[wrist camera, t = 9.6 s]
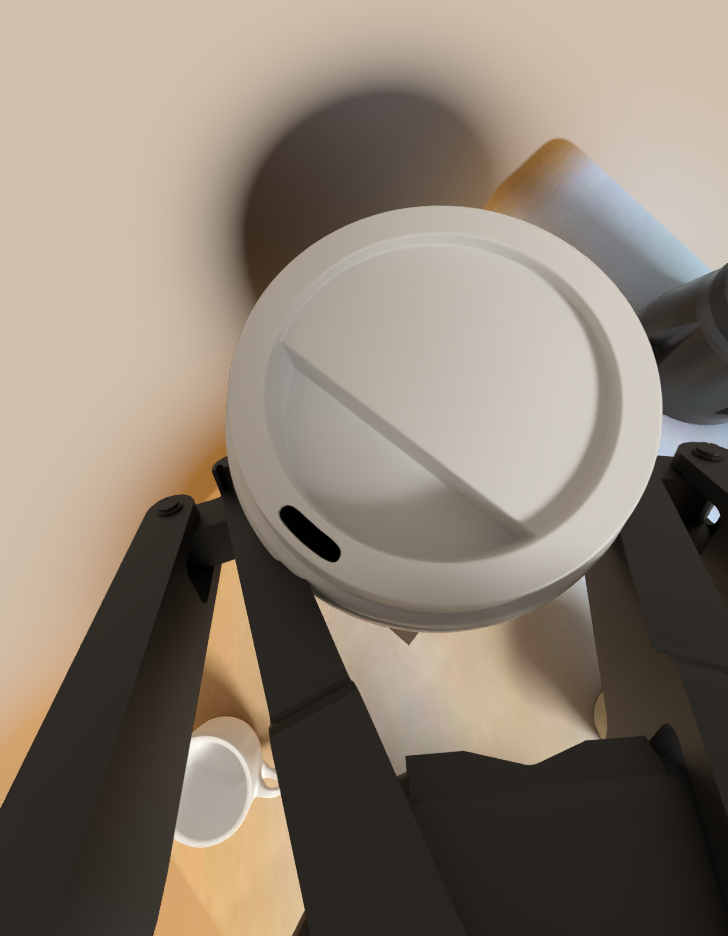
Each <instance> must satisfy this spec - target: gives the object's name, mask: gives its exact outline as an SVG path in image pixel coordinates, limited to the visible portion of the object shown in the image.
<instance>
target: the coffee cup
mask: <svg viewBox="0 0 728 936" xmlns="http://www.w3.org/2000/svg"><path fill="white" fill-rule="evenodd" d="M661 429H662V392H661V384H660V378H659V373H658V368H657V364H656V360H655V357H654V354H653V351H652V348H651V345H650V342H649V340H648V337H647V335H646V333H645V331H644V329H643V326H642V324H641V323H640V321H639V319H638V317H637V315H636V314H635V312H634V310H633V309H632V307H631V305H630V304H629V302H628V301H627V300H626V298H625V297H624V295H623V294H622V293H621V291H620V290H619V289H618V288H617V286H616V285H615V284H614V283H613V282H612V281H611V280H610V278H609V277H608V276H607V275H606V274H605V273H604V272H603V271H602V270H601V269H600V268H599V267H598V266H597V265H595V264H594V263H593V262H592V261H591V260H590V259H589V258H587V257H586V256H585V255H584V254H582V253H581V252H580V251H578V250H577V249H576V248H574V247H573V246H571V245H570V244H568V243H567V242H565V241H564V240H562V239H560V238H559V237H557V236H555V235H553V234H551V233H550V232H548V231H546V230H544V229H542V228H539V227H537V226H535V225H533V224H530V223H528V222H525V221H523V220H520V219H517V218H514V217H511V216H508V215H504V214H501V213H497V212H492V211H488V210H482V209H477V208H469V207H459V206H422V207H412V208H405V209H399V210H394V211H389V212H385V213H381V214H377V215H374V216H371V217H368V218H365V219H362V220H359V221H357V222H354V223H352V224H349V225H347V226H345V227H343V228H341V229H339V230H337V231H335V232H333V233H331V234H329V235H327V236H326V237H324V238H322V239H321V240H319V241H318V242H316V243H315V244H313V245H312V246H310V247H309V248H307V249H306V250H305V251H303V252H302V253H301V254H300V255H298V256H297V257H296V258H295V259H294V260H293V261H291V262H290V263H289V264H288V265H287V266H286V267H285V268H284V269H283V270H282V271H281V272H280V273H279V274H278V276H277V277H276V278H275V279H274V280H273V281H272V282H271V283H270V285H269V286H268V287H267V289H266V290H265V291H264V293H263V294H262V295H261V297H260V298H259V300H258V301H257V303H256V305H255V306H254V308H253V309H252V312H251V313H250V315H249V317H248V319H247V321H246V323H245V325H244V327H243V330H242V332H241V334H240V337H239V340H238V343H237V346H236V349H235V352H234V356H233V360H232V364H231V369H230V375H229V383H228V397H227V405H226V417H225V434H226V447H227V456H228V463H229V468H230V473H231V477H232V481H233V484H234V488H235V491H236V494H237V496H238V499H239V502H240V504H241V506H242V509H243V511H244V513H245V515H246V517H247V519H248V521H249V523H250V525H251V526H252V528H253V530H254V531H255V533H256V535H257V536H258V538H259V539H260V541H261V542H262V543H263V545H264V546H265V548H266V549H267V550H268V551H269V553H270V554H271V555H272V556H273V557H274V558H275V559H276V560H278V561H281V562H282V563H283V564H284V565H285V566H286V567H287V568H288V569H289V570H290V571H291V572H292V573H294V574H295V575H297V576H299V577H301V578H303V579H306V580H307V581H308V583H309V585H310V588H311V590H312V592H313V595H315V596H316V597H318V598H319V599H321V600H322V601H324V602H326V603H327V604H329V605H331V606H333V607H334V608H336V609H338V610H340V611H342V612H344V613H346V614H349V615H351V616H353V617H356V618H358V619H361V620H364V621H366V622H370V623H373V624H376V625H380V626H383V627H388V628H392V629H398V630H403V631H411V632H423V633H447V632H459V631H467V630H473V629H479V628H483V627H488V626H492V625H496V624H499V623H503V622H506V621H509V620H512V619H514V618H517V617H520V616H522V615H524V614H527V613H529V612H531V611H533V610H535V609H537V608H539V607H541V606H543V605H545V604H546V603H548V602H550V601H551V600H553V599H554V598H556V597H557V596H559V595H560V594H562V593H563V592H565V591H566V590H567V589H569V588H570V587H571V586H572V585H574V584H575V583H576V582H577V581H578V580H579V579H580V578H582V577H583V576H584V575H585V574H586V573H587V572H588V571H589V570H590V569H591V568H592V567H593V566H594V565H595V564H596V562H597V561H598V560H599V559H600V558H601V557H602V556H603V555H604V553H605V552H606V551H607V550H608V548H609V547H610V546H611V544H612V543H613V542H614V540H615V539H616V537H617V536H618V534H619V533H620V531H621V529H622V528H623V526H624V524H625V522H626V521H627V519H628V518H629V516H630V515H631V513H632V512H633V510H634V509H635V507H636V505H637V504H638V502H639V500H640V498H641V496H642V494H643V492H644V490H645V488H646V486H647V484H648V481H649V479H650V476H651V473H652V471H653V468H654V464H655V461H656V457H657V453H658V449H659V443H660V437H661Z"/></svg>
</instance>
